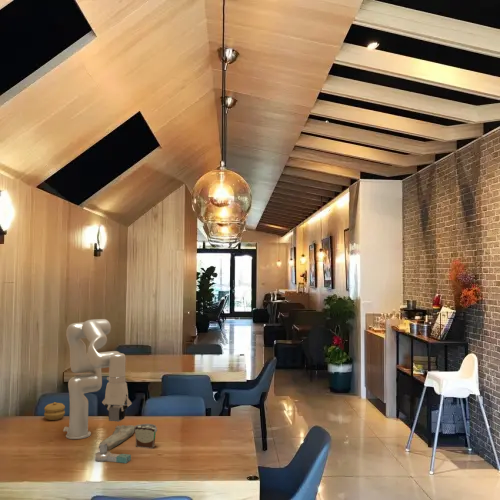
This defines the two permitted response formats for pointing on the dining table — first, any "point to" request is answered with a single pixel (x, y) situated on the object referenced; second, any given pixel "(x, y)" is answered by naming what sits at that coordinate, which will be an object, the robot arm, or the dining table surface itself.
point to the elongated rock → (119, 436)
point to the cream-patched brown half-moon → (145, 435)
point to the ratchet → (111, 455)
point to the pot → (54, 411)
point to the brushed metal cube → (114, 413)
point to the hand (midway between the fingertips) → (116, 418)
